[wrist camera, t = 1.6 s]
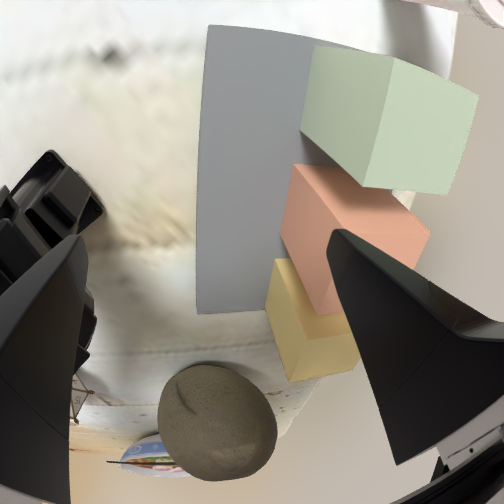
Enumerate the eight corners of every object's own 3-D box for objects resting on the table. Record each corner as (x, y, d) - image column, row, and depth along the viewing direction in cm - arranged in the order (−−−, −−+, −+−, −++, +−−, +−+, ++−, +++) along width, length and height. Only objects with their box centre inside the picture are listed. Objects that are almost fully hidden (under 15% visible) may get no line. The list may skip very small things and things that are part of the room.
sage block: (299, 129, 19) (362, 186, 13) (313, 45, 16) (394, 57, 9) (372, 139, 21) (447, 195, 14) (389, 66, 17) (479, 96, 11)
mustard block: (264, 306, 30) (288, 382, 23) (274, 258, 26) (307, 340, 20) (320, 301, 31) (352, 369, 25) (337, 255, 27) (380, 327, 21)
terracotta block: (279, 234, 25) (317, 315, 18) (293, 163, 21) (347, 233, 14) (345, 232, 26) (394, 304, 19) (364, 169, 22) (430, 232, 16)
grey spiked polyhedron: (65, 350, 36) (44, 409, 31) (28, 333, 28) (4, 402, 24) (113, 377, 34) (90, 441, 30) (77, 366, 27) (52, 443, 22)
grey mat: (196, 304, 29) (197, 314, 28) (208, 25, 15) (209, 24, 14) (344, 292, 33) (348, 300, 32) (415, 70, 18) (425, 73, 18)
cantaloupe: (155, 394, 40) (164, 491, 28) (155, 339, 32) (163, 473, 20) (248, 392, 44) (270, 481, 33) (275, 340, 36) (312, 456, 25)
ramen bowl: (123, 449, 56) (125, 479, 50) (99, 415, 43) (99, 457, 36) (226, 446, 63) (232, 476, 57) (239, 412, 49) (248, 453, 43)
